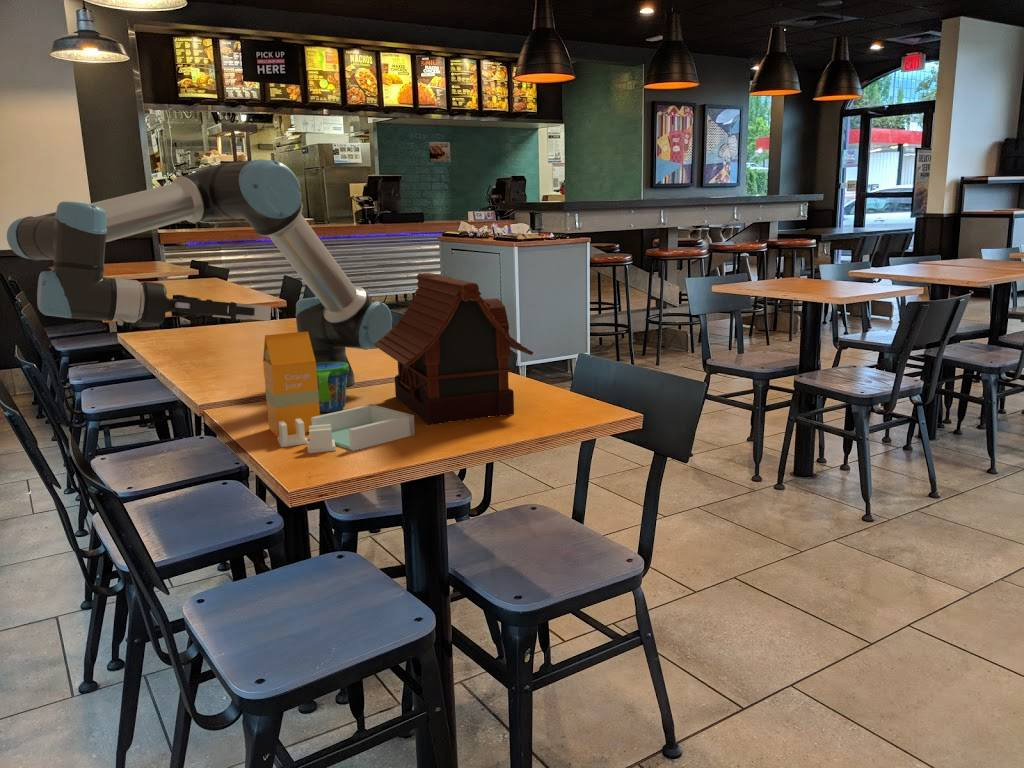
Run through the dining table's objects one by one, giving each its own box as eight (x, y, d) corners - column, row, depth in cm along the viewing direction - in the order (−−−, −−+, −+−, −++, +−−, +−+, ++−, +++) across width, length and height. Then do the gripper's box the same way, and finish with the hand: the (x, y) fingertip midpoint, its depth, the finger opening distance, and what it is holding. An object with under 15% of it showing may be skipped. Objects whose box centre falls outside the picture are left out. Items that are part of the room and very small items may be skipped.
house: (537, 414, 167) (535, 279, 161) (409, 430, 157) (401, 286, 151) (482, 384, 199) (479, 270, 193) (373, 395, 189) (365, 275, 182)
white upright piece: (308, 453, 143) (306, 432, 142) (307, 445, 148) (306, 425, 147) (335, 450, 144) (334, 429, 143) (334, 443, 149) (333, 423, 148)
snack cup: (311, 402, 183) (307, 359, 181) (356, 400, 184) (353, 358, 182) (297, 419, 168) (293, 372, 166) (346, 417, 169) (342, 371, 166)
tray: (372, 422, 163) (371, 404, 162) (414, 434, 153) (413, 415, 152) (312, 436, 154) (311, 417, 153) (353, 451, 144) (352, 430, 143)
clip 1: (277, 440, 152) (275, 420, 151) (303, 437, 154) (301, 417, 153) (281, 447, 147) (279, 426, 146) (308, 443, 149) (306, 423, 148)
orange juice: (321, 430, 158) (314, 333, 154) (277, 437, 154) (268, 337, 150) (310, 422, 165) (303, 329, 161) (268, 428, 161) (259, 333, 156)
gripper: (124, 321, 148) (236, 330, 161) (154, 324, 129) (279, 334, 141) (126, 282, 148) (238, 294, 161) (157, 279, 128) (282, 293, 141)
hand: (258, 313), depth 151 cm, fingers open, 13 cm apart
